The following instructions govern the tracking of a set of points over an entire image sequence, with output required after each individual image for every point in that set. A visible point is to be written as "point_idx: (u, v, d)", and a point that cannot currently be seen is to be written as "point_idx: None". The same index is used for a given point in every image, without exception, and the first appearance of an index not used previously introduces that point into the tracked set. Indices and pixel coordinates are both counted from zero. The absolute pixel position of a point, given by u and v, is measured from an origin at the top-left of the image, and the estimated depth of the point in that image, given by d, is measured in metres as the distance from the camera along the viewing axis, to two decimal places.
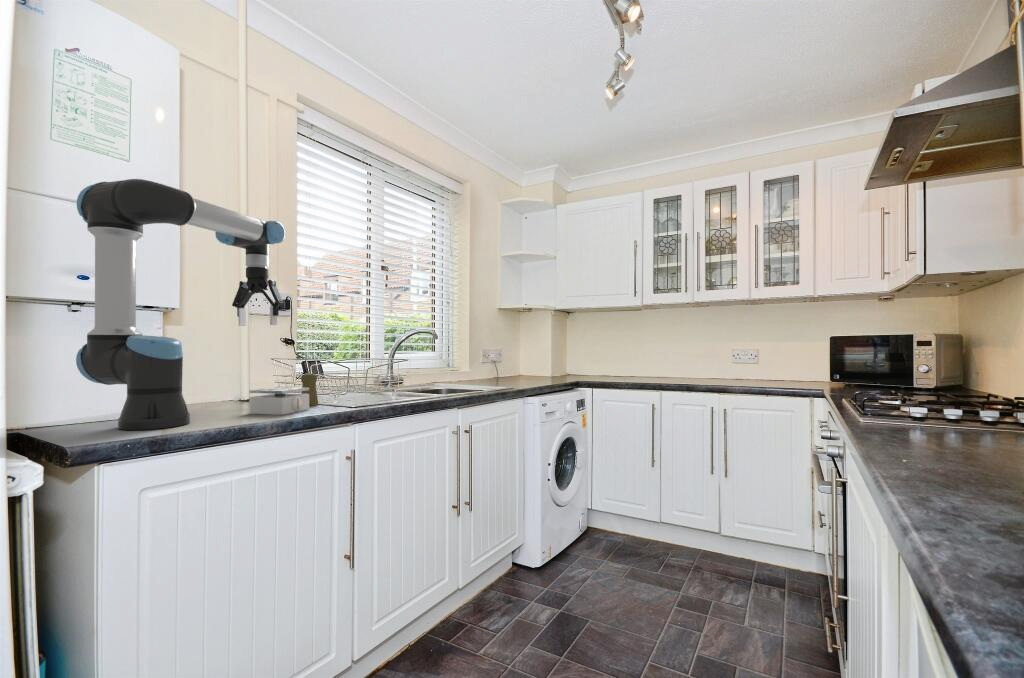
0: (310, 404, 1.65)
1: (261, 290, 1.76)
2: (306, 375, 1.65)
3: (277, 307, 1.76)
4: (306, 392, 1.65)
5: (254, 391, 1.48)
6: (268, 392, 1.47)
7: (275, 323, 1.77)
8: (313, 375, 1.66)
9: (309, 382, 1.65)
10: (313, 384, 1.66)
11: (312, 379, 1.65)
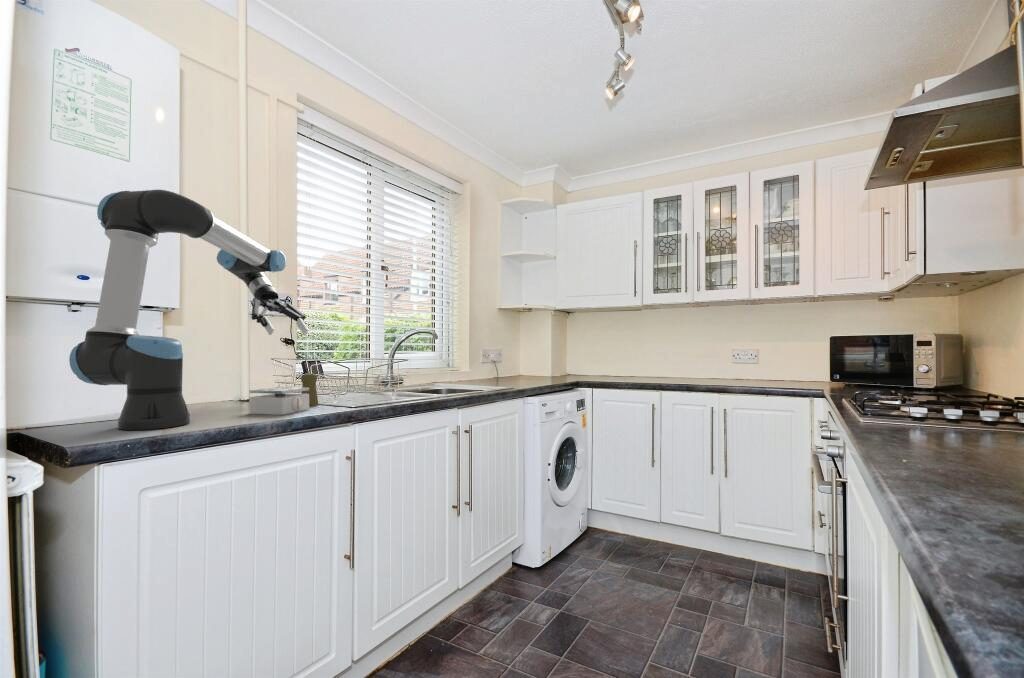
0: (310, 404, 1.65)
1: (284, 305, 1.80)
2: (306, 375, 1.65)
3: None
4: (306, 392, 1.65)
5: (254, 391, 1.48)
6: (268, 392, 1.47)
7: None
8: (313, 375, 1.66)
9: (309, 382, 1.65)
10: (313, 384, 1.66)
11: (312, 379, 1.65)
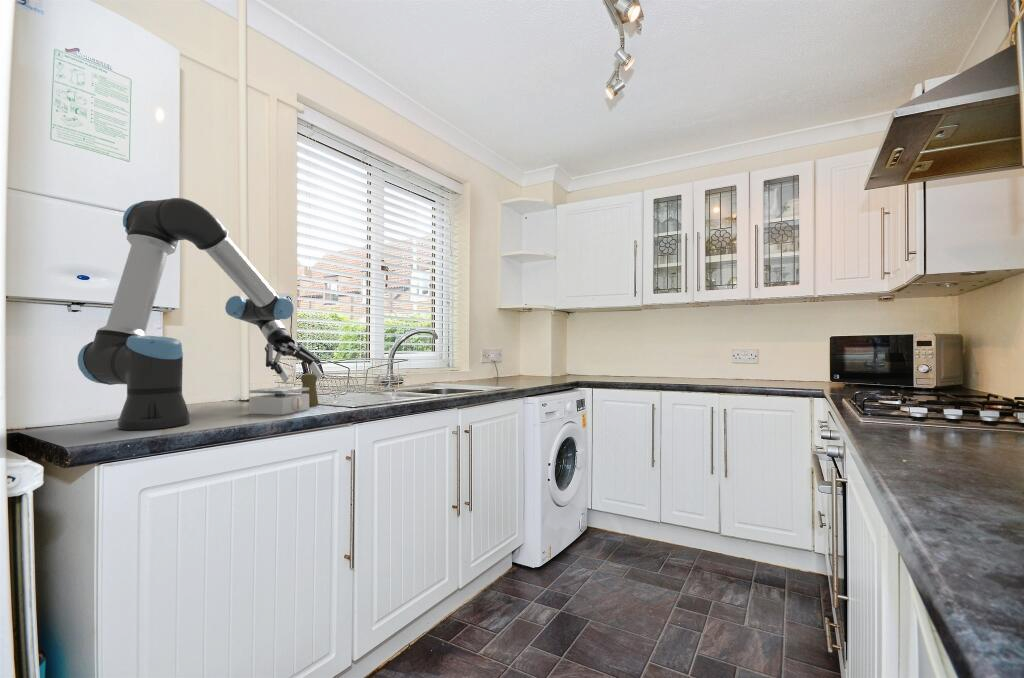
0: (310, 404, 1.65)
1: (297, 349, 1.77)
2: (306, 375, 1.65)
3: None
4: (306, 392, 1.65)
5: (254, 391, 1.48)
6: (268, 392, 1.47)
7: None
8: (313, 375, 1.66)
9: (309, 382, 1.65)
10: (313, 384, 1.66)
11: (312, 379, 1.65)
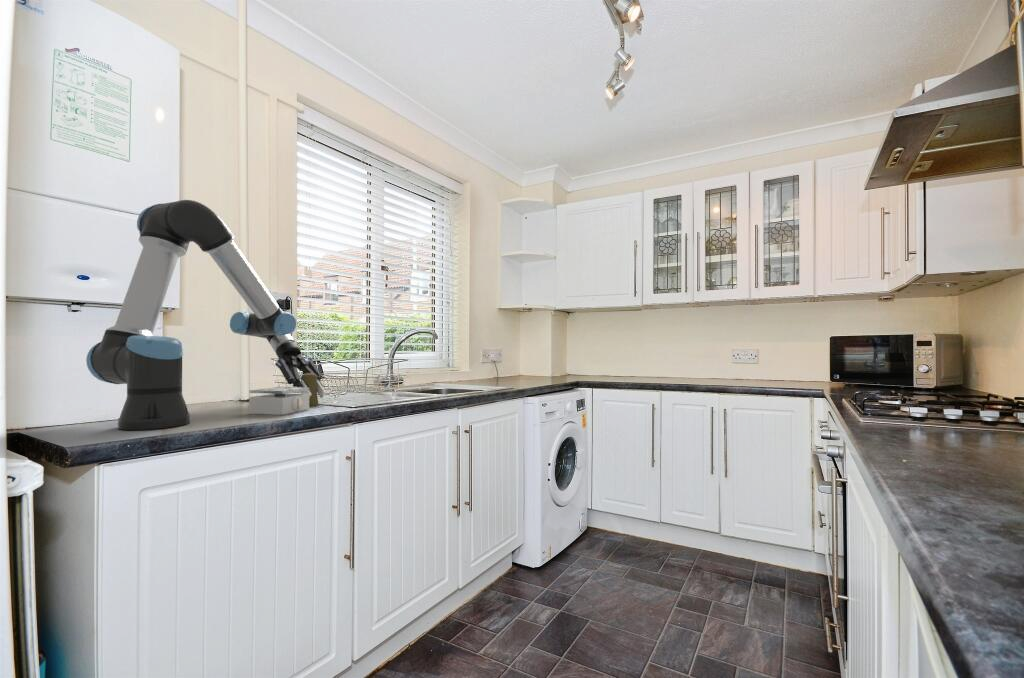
0: (310, 404, 1.65)
1: (304, 363, 1.72)
2: (306, 375, 1.65)
3: None
4: None
5: (254, 391, 1.48)
6: (268, 392, 1.47)
7: None
8: (313, 375, 1.66)
9: (309, 382, 1.65)
10: (313, 384, 1.66)
11: (312, 379, 1.65)
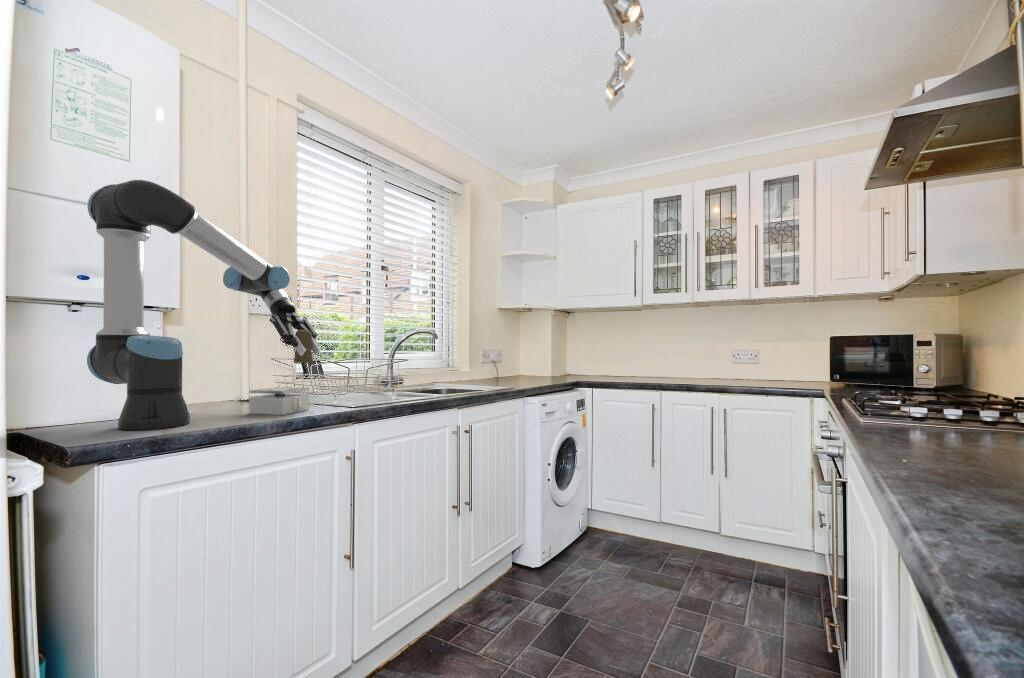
0: (304, 360, 1.62)
1: (299, 320, 1.69)
2: (301, 331, 1.62)
3: None
4: None
5: (254, 391, 1.48)
6: (268, 392, 1.47)
7: None
8: (308, 331, 1.63)
9: (304, 338, 1.62)
10: (308, 341, 1.63)
11: (306, 335, 1.62)
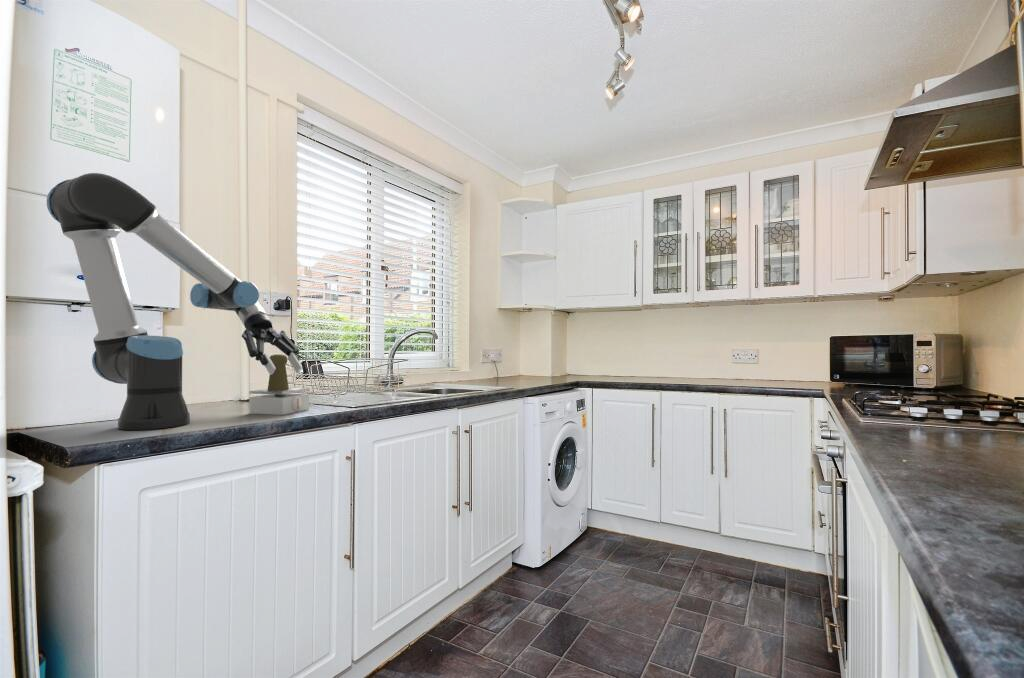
0: (279, 388, 1.50)
1: (277, 336, 1.57)
2: (274, 356, 1.50)
3: None
4: (274, 375, 1.50)
5: (254, 392, 1.48)
6: (268, 393, 1.47)
7: None
8: (282, 356, 1.51)
9: (278, 364, 1.50)
10: (282, 366, 1.51)
11: (281, 360, 1.50)
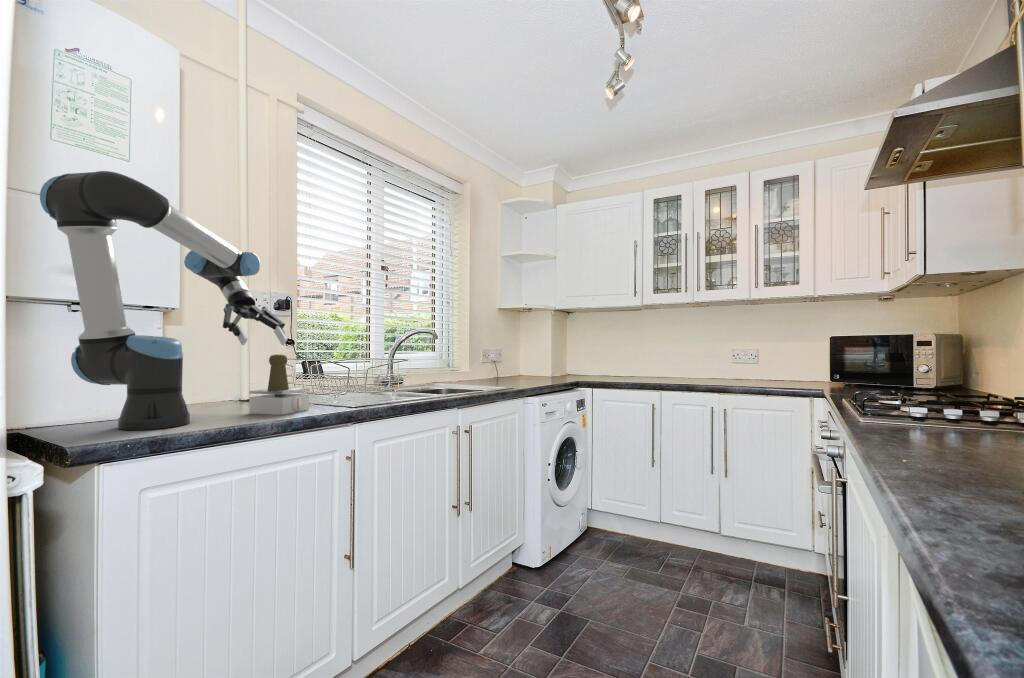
0: (279, 388, 1.50)
1: (261, 312, 1.64)
2: (274, 356, 1.50)
3: None
4: (274, 375, 1.50)
5: (254, 392, 1.48)
6: (268, 393, 1.47)
7: None
8: (282, 356, 1.51)
9: (278, 364, 1.50)
10: (282, 366, 1.51)
11: (281, 360, 1.50)
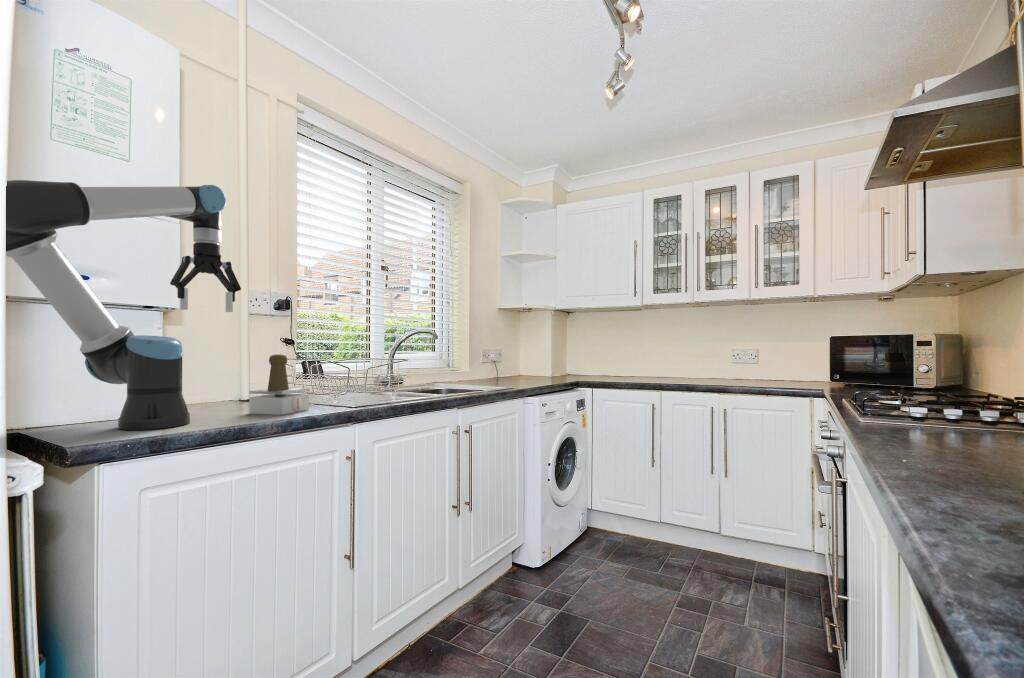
0: (279, 388, 1.50)
1: (220, 272, 1.56)
2: (274, 356, 1.50)
3: None
4: (274, 375, 1.50)
5: (254, 392, 1.48)
6: (268, 393, 1.47)
7: None
8: (282, 356, 1.51)
9: (278, 364, 1.50)
10: (282, 366, 1.51)
11: (281, 360, 1.50)
